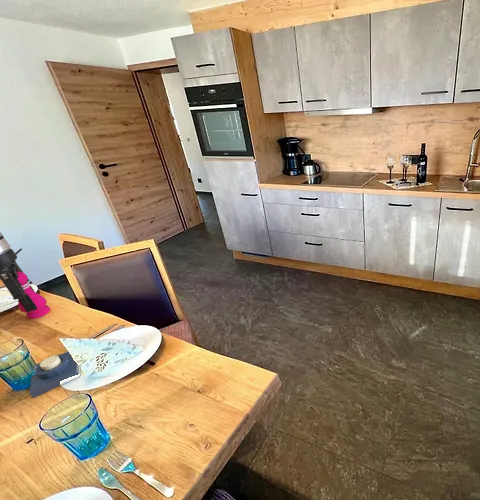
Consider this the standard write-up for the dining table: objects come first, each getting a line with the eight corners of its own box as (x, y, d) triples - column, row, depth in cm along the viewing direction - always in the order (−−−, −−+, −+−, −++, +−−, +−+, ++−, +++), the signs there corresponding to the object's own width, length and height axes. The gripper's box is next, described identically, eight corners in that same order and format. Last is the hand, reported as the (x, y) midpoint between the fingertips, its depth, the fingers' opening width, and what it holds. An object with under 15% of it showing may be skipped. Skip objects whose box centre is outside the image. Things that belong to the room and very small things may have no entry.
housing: (37, 370, 87) (30, 361, 85) (80, 352, 92) (74, 343, 91) (33, 397, 79) (25, 388, 77) (80, 376, 84) (73, 367, 82)
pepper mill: (21, 318, 109) (-13, 274, 99) (43, 306, 115) (13, 263, 105) (35, 321, 107) (2, 276, 98) (56, 308, 113) (27, 265, 104)
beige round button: (43, 364, 84) (40, 360, 83) (61, 357, 86) (58, 353, 86) (42, 373, 81) (39, 369, 81) (61, 365, 84) (57, 361, 83)
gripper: (-14, 246, 103) (23, 297, 114) (-28, 267, 89) (16, 323, 100) (15, 239, 107) (48, 289, 118) (6, 259, 93) (45, 313, 104)
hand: (33, 305), depth 109 cm, fingers closed on pepper mill, 7 cm apart
